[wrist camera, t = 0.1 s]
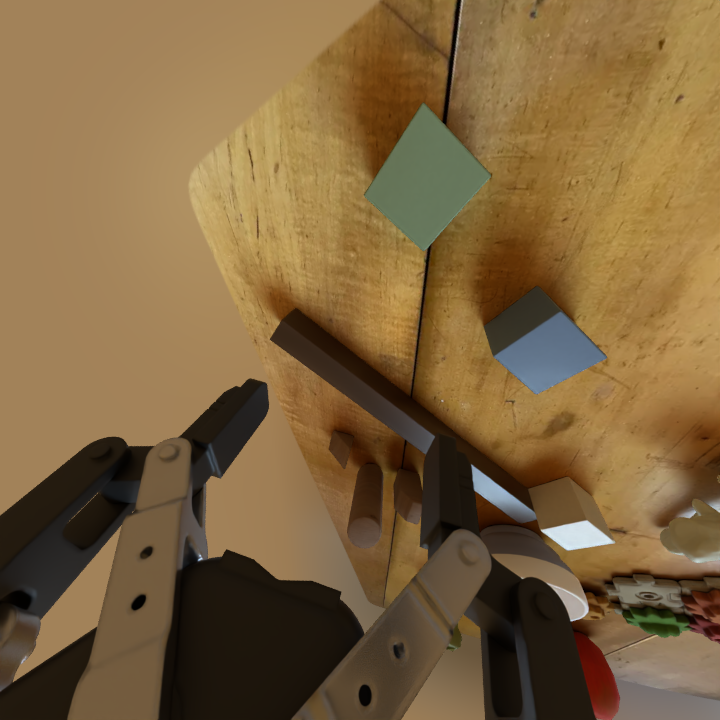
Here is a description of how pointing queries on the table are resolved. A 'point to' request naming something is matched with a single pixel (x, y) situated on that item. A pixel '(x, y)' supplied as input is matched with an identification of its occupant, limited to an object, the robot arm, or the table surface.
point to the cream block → (569, 515)
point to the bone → (695, 534)
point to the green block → (426, 179)
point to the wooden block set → (375, 495)
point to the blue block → (540, 342)
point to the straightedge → (394, 408)
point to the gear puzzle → (663, 605)
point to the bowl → (536, 563)
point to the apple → (598, 678)
